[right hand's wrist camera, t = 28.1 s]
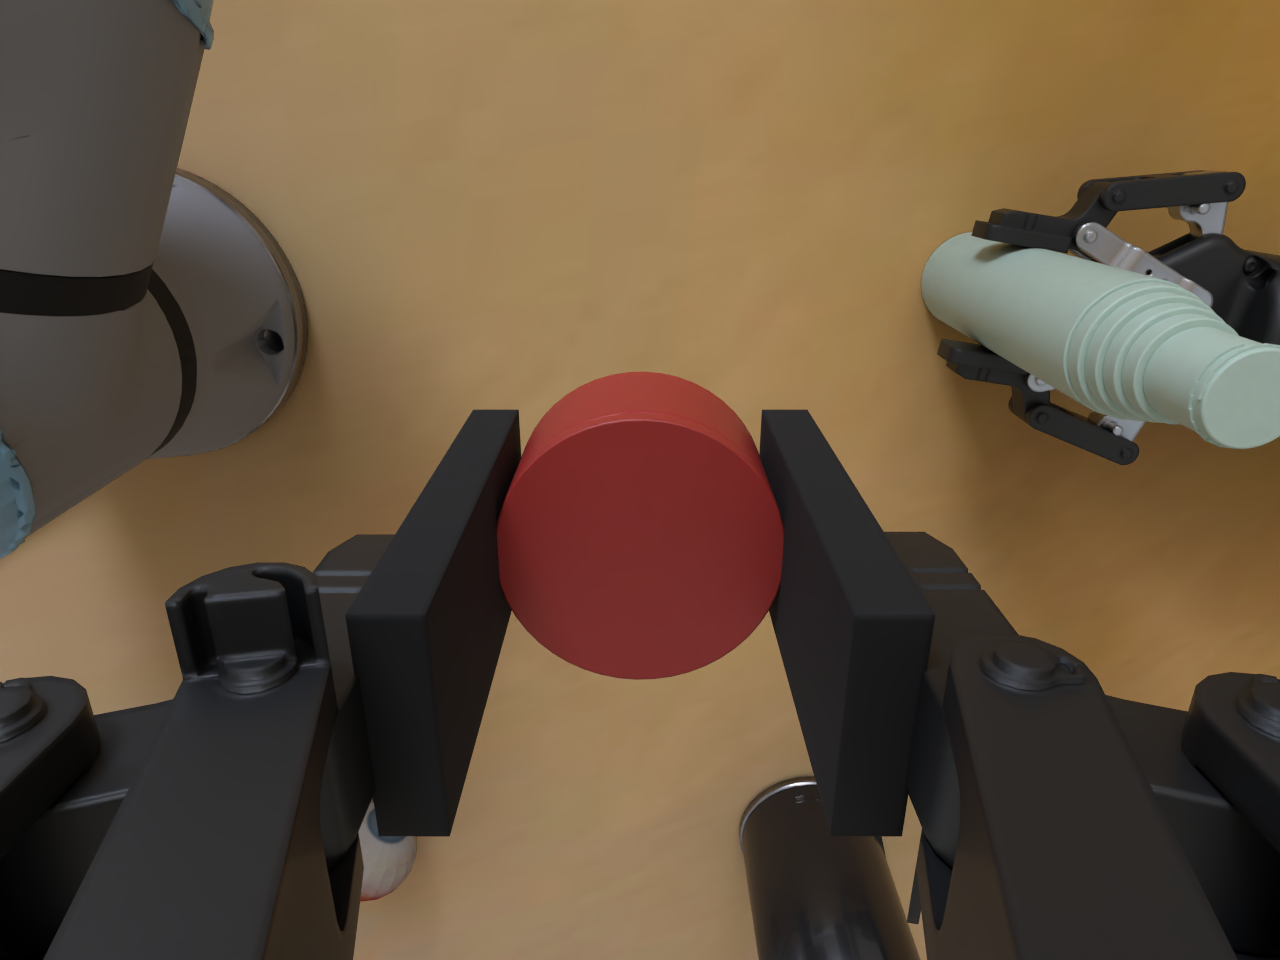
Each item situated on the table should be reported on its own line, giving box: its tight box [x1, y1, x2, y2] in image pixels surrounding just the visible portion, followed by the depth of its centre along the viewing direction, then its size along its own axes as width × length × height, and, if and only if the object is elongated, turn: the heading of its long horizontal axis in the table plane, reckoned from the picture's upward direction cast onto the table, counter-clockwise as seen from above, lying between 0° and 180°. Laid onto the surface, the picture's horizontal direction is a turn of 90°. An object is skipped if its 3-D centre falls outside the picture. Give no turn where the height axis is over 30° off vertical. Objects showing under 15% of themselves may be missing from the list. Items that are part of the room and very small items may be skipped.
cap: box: [497, 372, 784, 679], centre depth 13 cm, size 4×4×3 cm
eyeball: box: [358, 802, 417, 901], centre depth 55 cm, size 6×6×6 cm
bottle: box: [921, 232, 1280, 449], centre depth 34 cm, size 5×5×23 cm
